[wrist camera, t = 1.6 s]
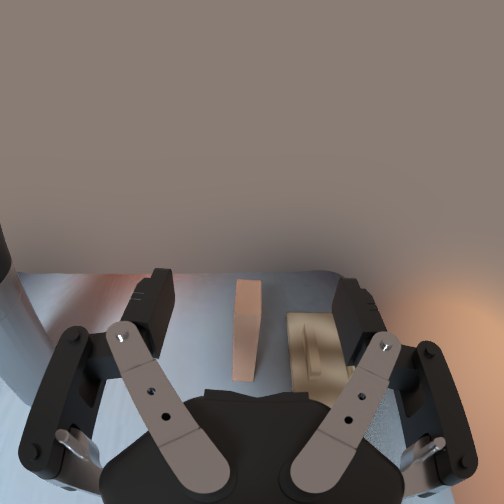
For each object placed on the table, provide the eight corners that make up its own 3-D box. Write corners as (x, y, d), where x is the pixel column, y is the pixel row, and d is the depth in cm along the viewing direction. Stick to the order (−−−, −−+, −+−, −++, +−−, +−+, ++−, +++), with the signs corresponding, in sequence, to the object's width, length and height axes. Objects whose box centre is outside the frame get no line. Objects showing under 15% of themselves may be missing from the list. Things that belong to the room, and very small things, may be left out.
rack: (372, 408, 29) (383, 395, 27) (294, 414, 29) (299, 401, 27) (348, 318, 42) (354, 303, 41) (285, 317, 42) (288, 302, 41)
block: (252, 381, 33) (261, 314, 26) (232, 380, 32) (234, 312, 26) (253, 350, 37) (261, 280, 30) (234, 349, 37) (237, 279, 30)
